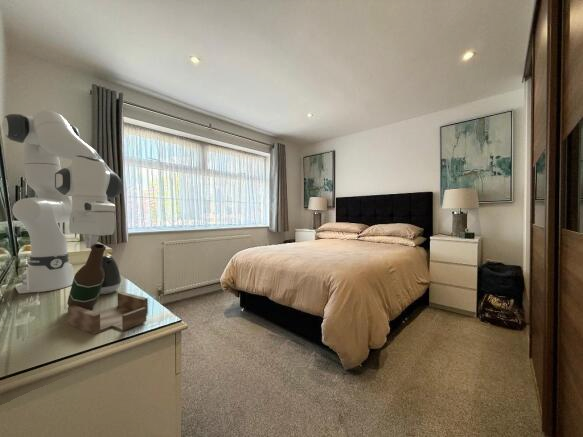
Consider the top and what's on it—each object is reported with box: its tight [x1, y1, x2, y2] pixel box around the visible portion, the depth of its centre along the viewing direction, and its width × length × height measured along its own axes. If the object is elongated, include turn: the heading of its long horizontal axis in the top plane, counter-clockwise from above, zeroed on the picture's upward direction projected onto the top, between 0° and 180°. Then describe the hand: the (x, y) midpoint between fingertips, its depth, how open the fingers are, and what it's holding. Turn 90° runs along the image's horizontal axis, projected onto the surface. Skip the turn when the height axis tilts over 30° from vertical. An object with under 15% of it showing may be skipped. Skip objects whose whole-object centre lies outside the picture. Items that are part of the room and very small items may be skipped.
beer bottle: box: [67, 243, 106, 310], centre depth 78 cm, size 8×8×24 cm
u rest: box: [67, 291, 149, 336], centre depth 73 cm, size 20×15×5 cm
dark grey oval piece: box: [99, 255, 122, 296], centre depth 98 cm, size 10×10×15 cm
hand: (91, 248), depth 78 cm, fingers closed
